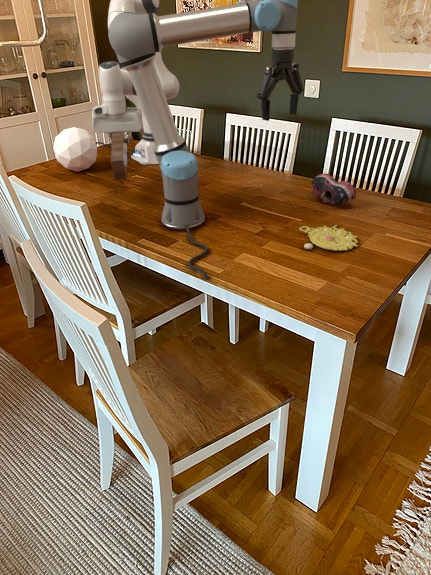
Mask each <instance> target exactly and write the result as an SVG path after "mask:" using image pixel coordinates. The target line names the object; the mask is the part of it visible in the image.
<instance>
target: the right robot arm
mask: <svg viewBox="0 0 431 575" xmlns="http://www.w3.org/2000/svg"><path fill="white" fill-rule="evenodd" d="M297 17H298V0H238V1H237V2H236V3H235V4H228V5H222V6H216V7H210V8H203V9H197V10H196V9H195V10H190V11H185V12H178V13H172V14H171V13H170V14H164V15H158V14H157V15H155V14H154V13H150V14H134V13H131V12H124V13H120V14H118V15H117V16H116V17H115V18H114V19H113V20H112V22H111V24H110V26H109V30H108V31H107V32H108V34H107V35H108V40H109V44H110V46H111V48H112V49H113V51H114V52H115V54H116V58H117V60H118V63H119V66H120V69H124V70H126V71H128V73H129V75H130V78H131V80H132V83H133V86H134V88H135V91H136V93H137V96H138V99H139V101H140V104H141V107H142V109H143V112H144V114H145V117H146V120H147V122H148V125H149V127H150V130H151V133H152V135H153V138H154V140H155V143H156V144H155V147H154V152H155V155H156V158H157V160H158V163H159V164H158V166H159V168H160V172H161V177H162V184H163V194H164V204H163V209H162V213H161V219H160V220H161V225H162V227H163V228H165V229H167V230H170V231H175V232H176V231H177V232H185V231H186V233H187V237H188V240H189V242H190V243H191V244H193V245H195V246H197V247H201V248H203V249H204V251H203V252H201V253H199V254H197V255H195V256H193V257H191V258H190V259H189V260H188V263H187V266H188V267H189V268H190V269H192V270H195V271H197V272H200V273H201V274H202V275H203V277H204V280H206V281H208V280H209V276H208V274H207V272H206V271H205V270H204V269H203V268H201V267H199V266H195V265H194V264H193V265H192V263H193V262H195V261H196V260H198V259H200V258H202V257H204V256H206V255H207V254H208V253H209V247H208V246H207V245H206V244H203V243H202V242H198V241H196V240H194V239H193V237H192V234H191V231H192V230H195V229H198V228H201V227H202V226H203V225H204V224H205V223H206V216H205V212H204V210H203V208H202V204H201V202H200V196H199V179H198V178H199V176H198V168H199V166H198V160H197V157H196V155H194V153H192V152H190V150H189V147H188V145H187V144H188V143H187V142H186V138H185V137H183V136H181V135H180V134H179V131H178V129H177V125H176V123H175V120H174V118H173V114H172V112H171V109H170V106H169V102H168V99H166V97H165V94H164V91H163V88H162V86H161V83H160V80H159V77H158V74H157V71H156V68H155V65H154V59H155V57H156V54H155V52H160V51H161V52H162V50H163V48H165V47H173V46H177V45H183V44H191V43H195V42H201V41H202V42H203V41H209V40H214V39H219V38H225V37H226V38H227V37H232V36H237V35H243V34H251V33H257V32H270V31H271V48H273V49H271V51H270V52H271V53H270V61H271V63H272V65H271V66H265V67H264V71H263V72H264V74H263V77H262V80H261V82H260V86H259V89H258V91H257V95H256V98H257V99H259V100H261V111H262V113H261V114H262V115H261V116H262V117H261V118H262V119H261V120H263V121H267V122H268V121H270V116H271V115H270V113H271V112H270V110H271V100H270V98H271V94H272V93H273V91H274V89H275V88H276V86H277V84H278V83H279V82H280V81H283V80H284V81H285V82H286V83H287V85H288V87H289V89H290V91H291V94H290V99H289V100H290V101H289V115H294V116H295V115H297V112H298V104H299V95H302V93H303V91H304V85H303V82H302V78H301V74H300V65H299V63H296V62H294V61H295V52H296V51H295V49H294V48H295V47H296V34H297V33H296V32H297V31H296V29H297Z"/></svg>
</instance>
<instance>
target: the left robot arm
mask: <svg viewBox="0 0 431 575" xmlns="http://www.w3.org/2000/svg"><path fill="white" fill-rule="evenodd" d="M160 5H161V1H160V0H110V1H109V7H108V15H107V30H108V31H109V26H110V24H111V22H112V20H113V19H114V18H115V17H116V16H117V15H118V14H120V13H124V12H131V13H134V14H150V13H154V14H155V15H157V16H158V12H159V10H160ZM155 54H156V57H155V59H154V65H155V68H156V71H157V74H158V77H159V80H160V83H161V86H162V88H163V91H164V94H165V97H166V100H170V99H173V98H176V97H177V96H178V95H179V92H180V83H179V80H178V78H177V76H176V75H175V74H173V73H172V72H171V71H170V70H169V69H168V68H167V66H166V65H165V64H164V61H163V57H162V50H161V51H160V52H155ZM98 77H99V78H98V79H99V86H100V90H101V93H102V103H100V104H98V105H96V106H94V107H93V108H92V109H91V112H92V114H93V115H91V128H92V131H93V132H94V133H95V134H97V133H103V134H104V133H105V136H106V137H107V138H108V139H109V143H110V144H111V145H110V144H108V143H104V142H101V141H95V143H96V145H97V144H99V145H102V146H107V147H109V148H111V147H112V132H125V133H126V135H127V137H125V142H126V143H127V144H130V143H131V141H130V137H131V135H132V133H140V135H141V136H142V137H141V139H140V140H139V142H138V143H137V144H135V146H133V148H132V152H128V151H127V155H130V159H132V160H134V161H135V162H137V163H139V164H141V165H159V163H158V160H157V158H156V155H155V152H154V147H155V144H156V143H155V140H154V138H153V135H152V133H151V130H150V127H149V125H148V122H147V120H146V117H145V114H144V112H143V109H142V107H141V104H140V101H139V99H138V96H137V93H136V91H135V88H134V86H133V83H132V80H131V78H130V75H129V73H128V71H126V70H124V69H122V68H121V65H120V63H119V62H118V61H115V60H109V61H103V62H102V63H100V64H99V66H98ZM126 99H127V100H129V101H130V102H131V103H133V104H134V105H135V106H134V107H127V103H126V102H127V101H126Z"/></svg>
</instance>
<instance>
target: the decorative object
mask: <svg viewBox="0 0 431 575" xmlns="http://www.w3.org/2000/svg"><path fill="white" fill-rule="evenodd" d="M303 228H304V229H305V230H304V229H303ZM299 231H300V232H303V233H305V234H307V237H308V238H309V240H310V241H311V243H304V244H303V248H304V249H305V250H313V249H314V245H315V246H316V247H318V248H321V249H324V250H328V251H335V252H341V251H348V250H352V249H354V247H356V248H358V247H359V245H358V244H357V243H359V240H357V238H359V237H358V235H353V234H352V231H347V230H346V229H345V228H344V227H342V228H338V224H335V225H333V226H331V227H328V226H327V225H326V224H325V225H323V226H322V227H321V226H317V227H316V228H314V227H309V226H308V225H302V226H300V227H299ZM313 244H314V245H313Z"/></svg>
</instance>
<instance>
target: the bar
mask: <svg viewBox="0 0 431 575" xmlns="http://www.w3.org/2000/svg"><path fill="white" fill-rule="evenodd" d="M111 137H112V143H111V146H112V147H110V148H111V150H110V165H111V169H112V174H113V178H114V181H122V180H127V179H128V154H127V152H128V143H126V142H125V138H126V132H111Z"/></svg>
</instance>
